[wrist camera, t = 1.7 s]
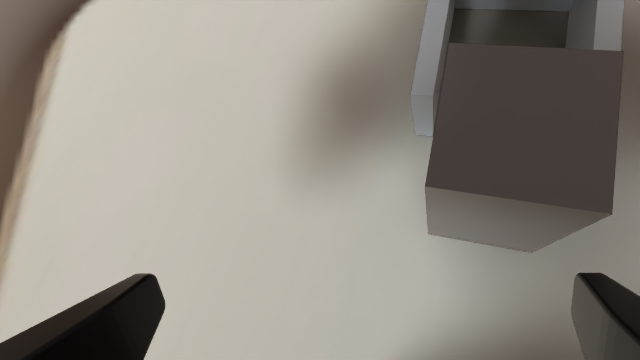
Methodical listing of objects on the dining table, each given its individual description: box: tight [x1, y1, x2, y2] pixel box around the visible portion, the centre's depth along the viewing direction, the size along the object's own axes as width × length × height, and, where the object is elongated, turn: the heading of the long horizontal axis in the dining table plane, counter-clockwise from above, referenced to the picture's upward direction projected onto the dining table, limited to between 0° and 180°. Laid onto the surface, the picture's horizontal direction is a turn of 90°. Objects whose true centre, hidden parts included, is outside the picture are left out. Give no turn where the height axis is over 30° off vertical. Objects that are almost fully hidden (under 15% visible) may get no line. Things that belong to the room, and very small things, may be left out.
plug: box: [425, 43, 623, 253], centre depth 18 cm, size 6×5×10 cm
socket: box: [411, 0, 624, 136], centre depth 20 cm, size 9×8×8 cm
